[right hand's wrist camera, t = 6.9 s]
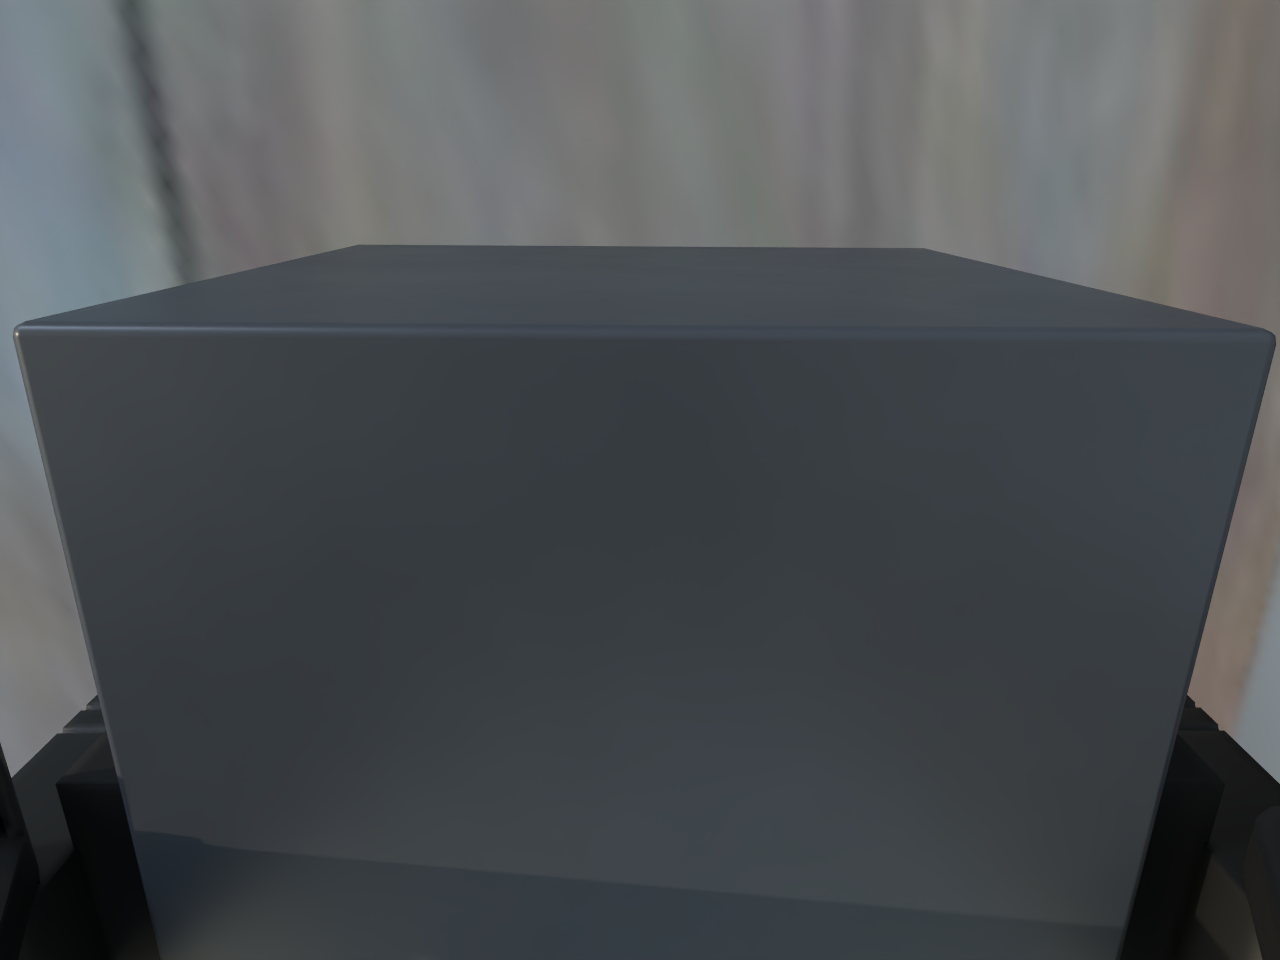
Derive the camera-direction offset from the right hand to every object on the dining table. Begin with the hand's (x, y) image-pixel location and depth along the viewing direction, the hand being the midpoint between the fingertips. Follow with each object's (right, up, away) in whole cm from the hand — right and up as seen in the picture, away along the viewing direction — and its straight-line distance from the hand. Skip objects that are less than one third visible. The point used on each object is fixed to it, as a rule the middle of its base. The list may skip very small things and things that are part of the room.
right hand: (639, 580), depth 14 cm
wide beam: (0, -21, +8) cm, 23 cm away
